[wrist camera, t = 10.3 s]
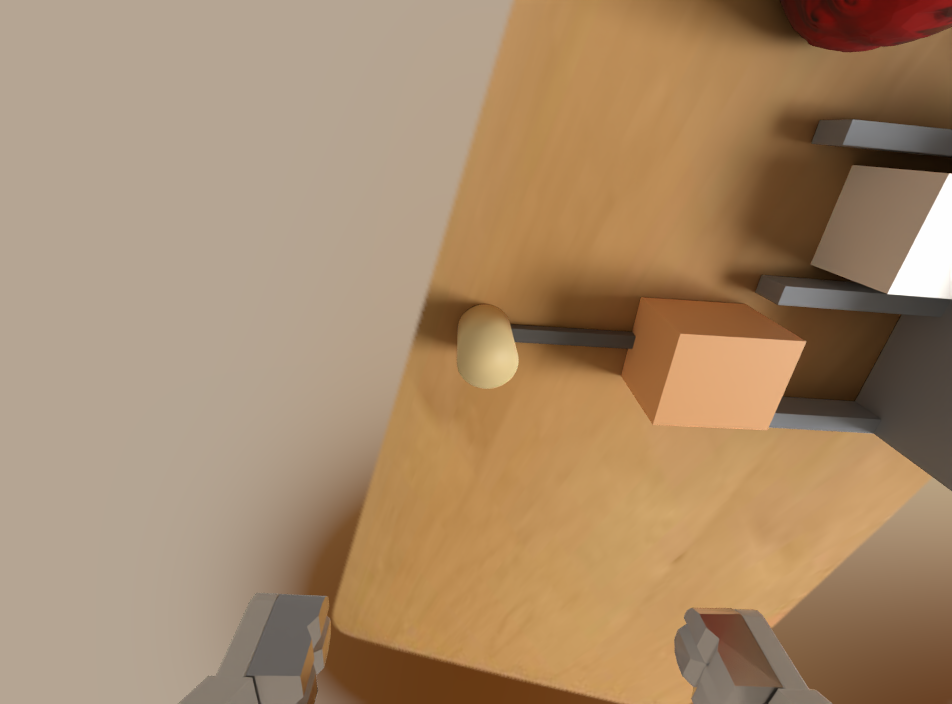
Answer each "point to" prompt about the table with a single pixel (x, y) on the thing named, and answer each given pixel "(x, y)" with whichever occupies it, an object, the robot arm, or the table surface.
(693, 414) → the tan block and knob
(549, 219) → the table surface
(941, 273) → the white block
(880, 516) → the table surface
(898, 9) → the red clay folk toy
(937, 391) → the lane rack
